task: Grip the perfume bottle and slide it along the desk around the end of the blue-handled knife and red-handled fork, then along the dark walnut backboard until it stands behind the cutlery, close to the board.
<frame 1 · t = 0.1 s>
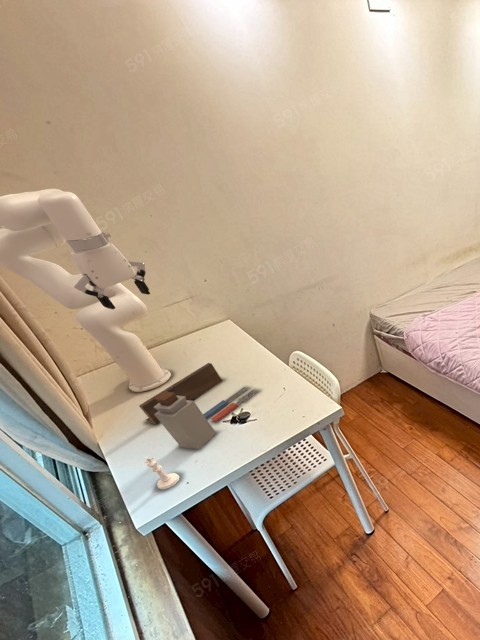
hand: (129, 300, 113), 37 cm above the table, tool pointing down, fingers open, 9 cm apart
backboard: (190, 401, 133), on the table
chess piece: (169, 482, 106), on the table
knife: (225, 403, 131), on the table
fork: (234, 406, 130), on the table
perfume bottle: (199, 440, 118), on the table
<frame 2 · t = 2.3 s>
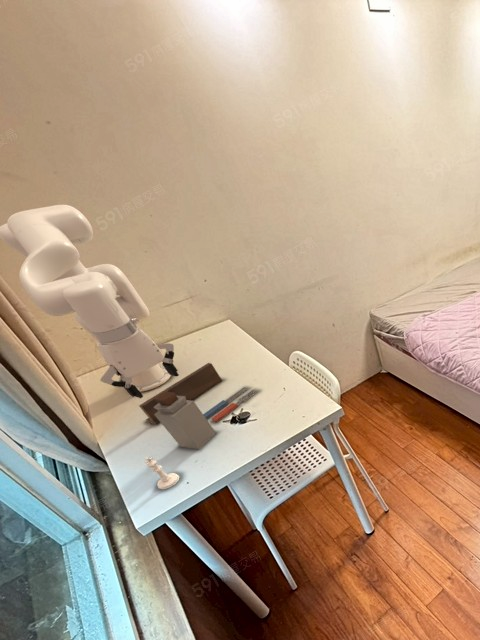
hand: (157, 385, 105), 22 cm above the table, tool pointing down, fingers open, 9 cm apart
nothing on the table moved.
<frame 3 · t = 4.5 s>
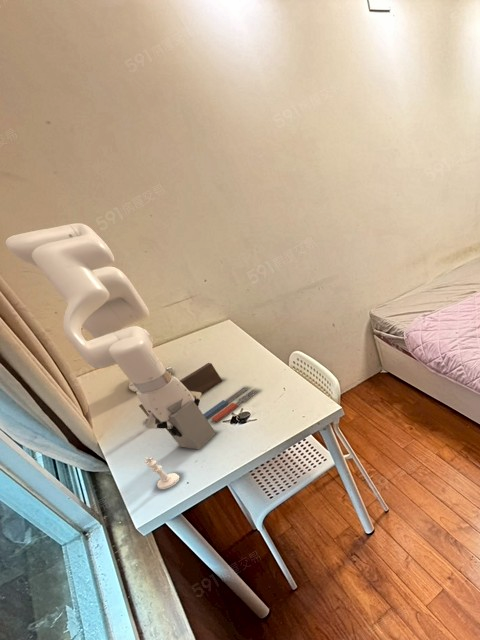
hand: (188, 427, 115), 6 cm above the table, tool pointing down, fingers closed on perfume bottle, 6 cm apart
perfume bottle: (199, 440, 118), on the table, touching gripper
everything else where it was.
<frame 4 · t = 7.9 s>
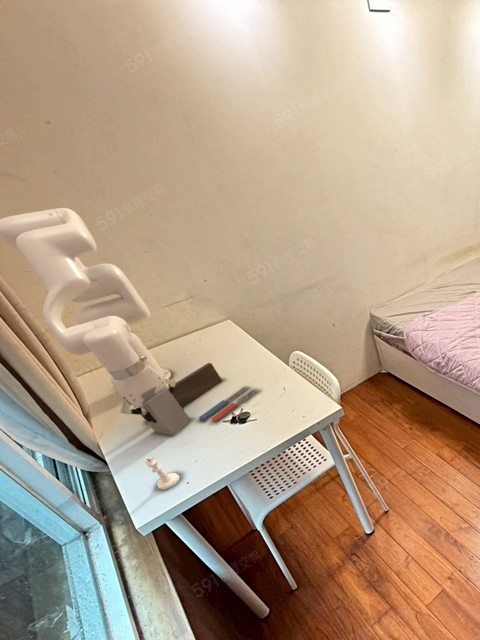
hand: (163, 413, 120), 6 cm above the table, tool pointing down, fingers closed on perfume bottle, 6 cm apart
perfume bottle: (174, 426, 124), on the table, touching gripper
everything else where it was.
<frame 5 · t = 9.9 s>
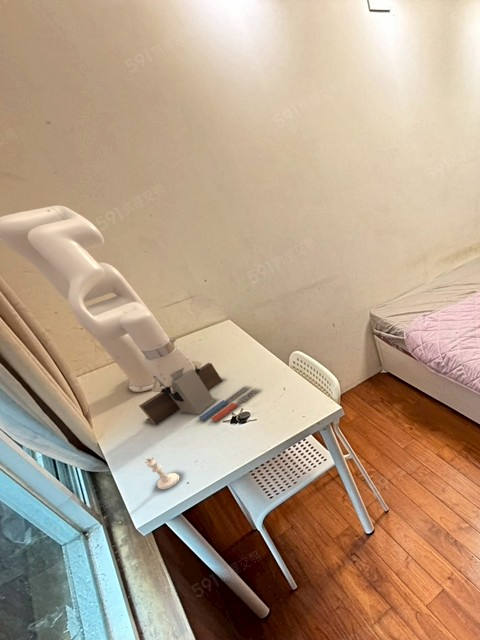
hand: (190, 393, 127), 6 cm above the table, tool pointing down, fingers closed on perfume bottle, 6 cm apart
perfume bottle: (199, 406, 131), on the table, touching gripper
everything else where it was.
when the fingers open (6 cm above the table, at t = 11.2 s): perfume bottle stays where it is, on the table.
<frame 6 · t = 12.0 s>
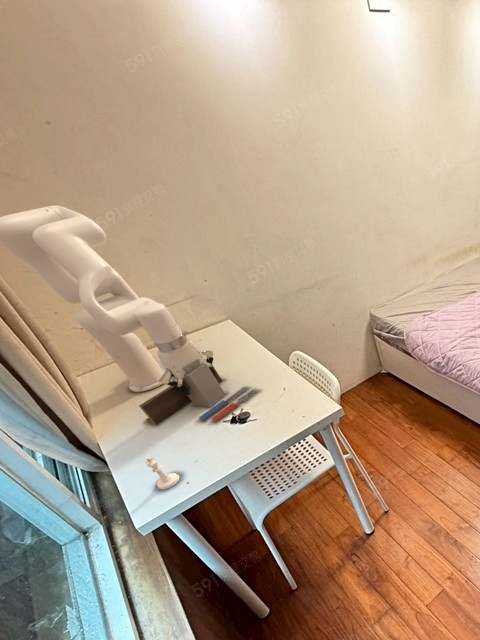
hand: (200, 384, 130), 6 cm above the table, tool pointing down, fingers open, 9 cm apart
perfume bottle: (210, 399, 134), on the table
everything else where it was.
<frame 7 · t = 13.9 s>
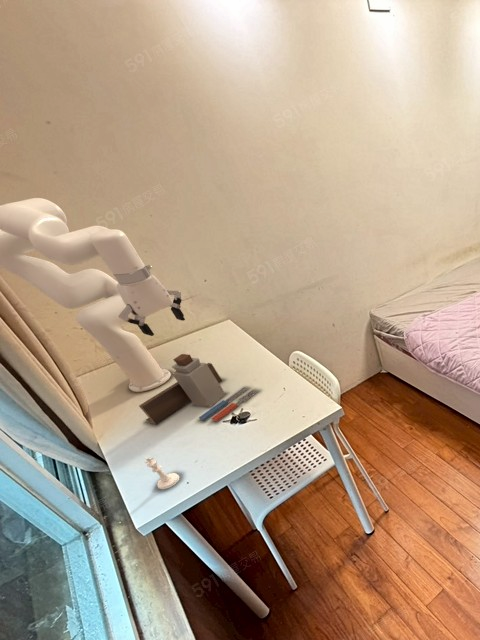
hand: (166, 327, 120), 27 cm above the table, tool pointing down, fingers open, 9 cm apart
nothing on the table moved.
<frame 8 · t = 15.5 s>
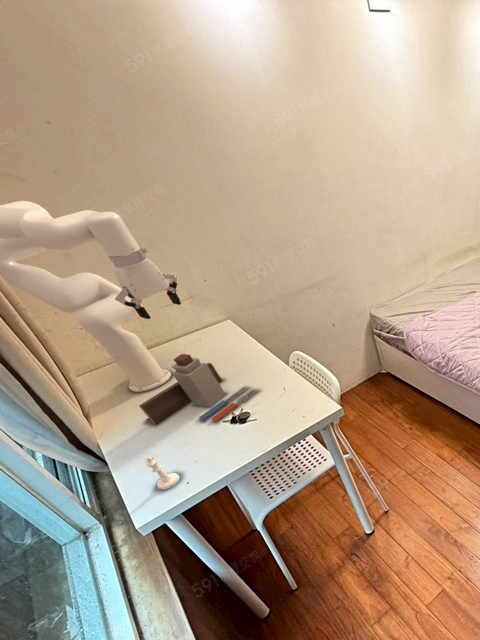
hand: (162, 310, 122), 30 cm above the table, tool pointing down, fingers open, 9 cm apart
nothing on the table moved.
at the end: perfume bottle inside the target area (0.2 cm from its centre), on the table; perfume bottle tilted 0°; the gripper is holding nothing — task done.
